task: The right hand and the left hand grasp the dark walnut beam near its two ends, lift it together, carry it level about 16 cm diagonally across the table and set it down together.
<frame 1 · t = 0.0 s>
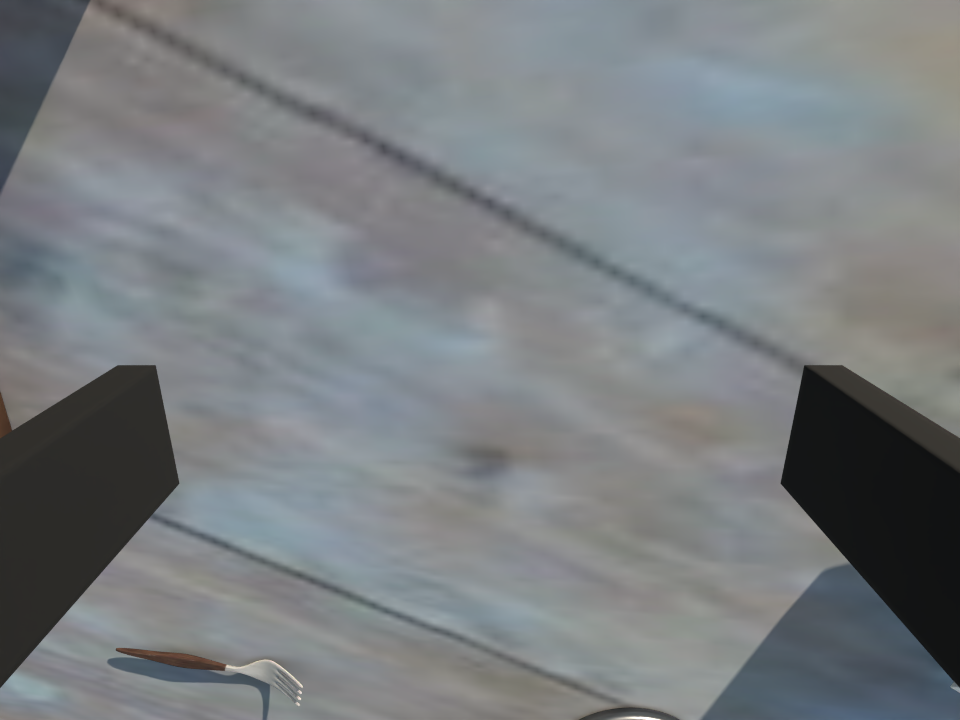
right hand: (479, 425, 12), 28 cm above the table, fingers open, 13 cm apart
fork: (215, 658, 51), on the table
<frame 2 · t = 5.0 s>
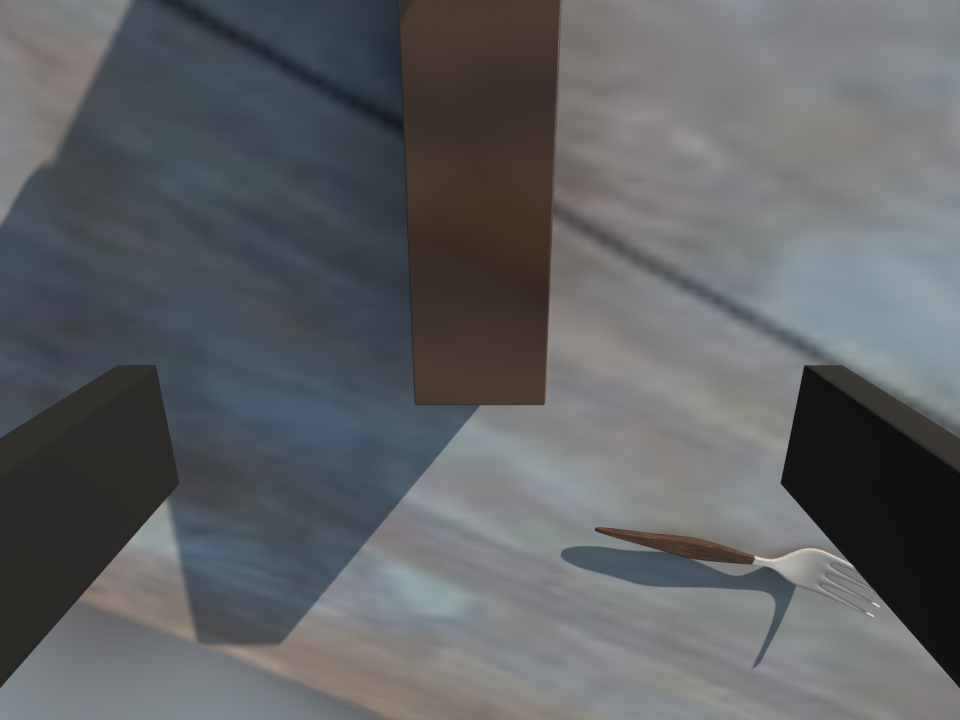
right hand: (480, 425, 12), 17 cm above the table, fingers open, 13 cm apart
fork: (728, 548, 34), on the table
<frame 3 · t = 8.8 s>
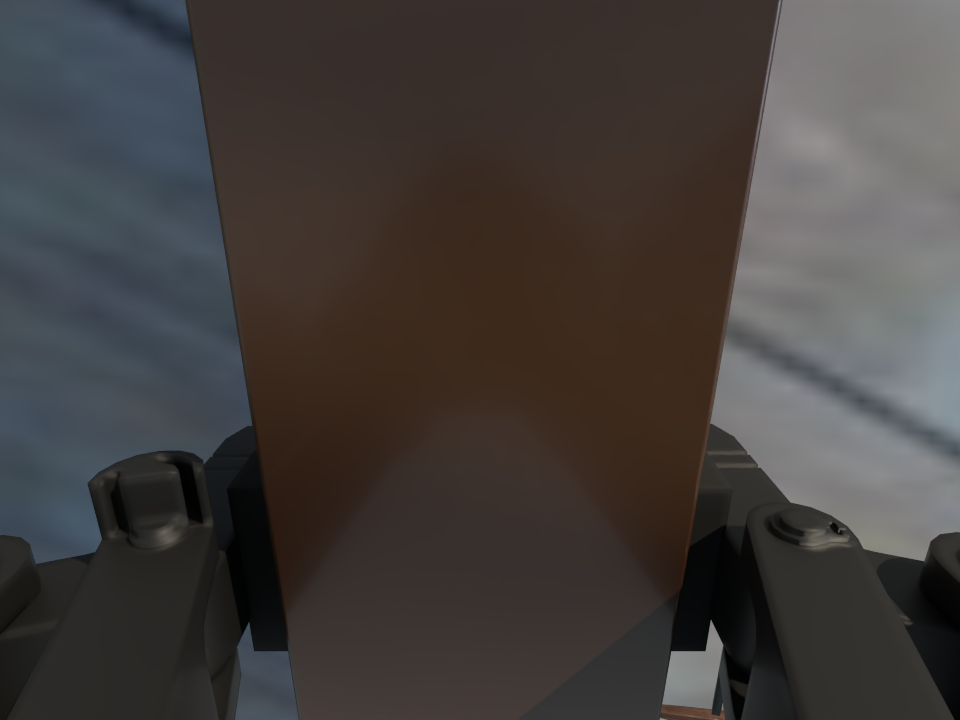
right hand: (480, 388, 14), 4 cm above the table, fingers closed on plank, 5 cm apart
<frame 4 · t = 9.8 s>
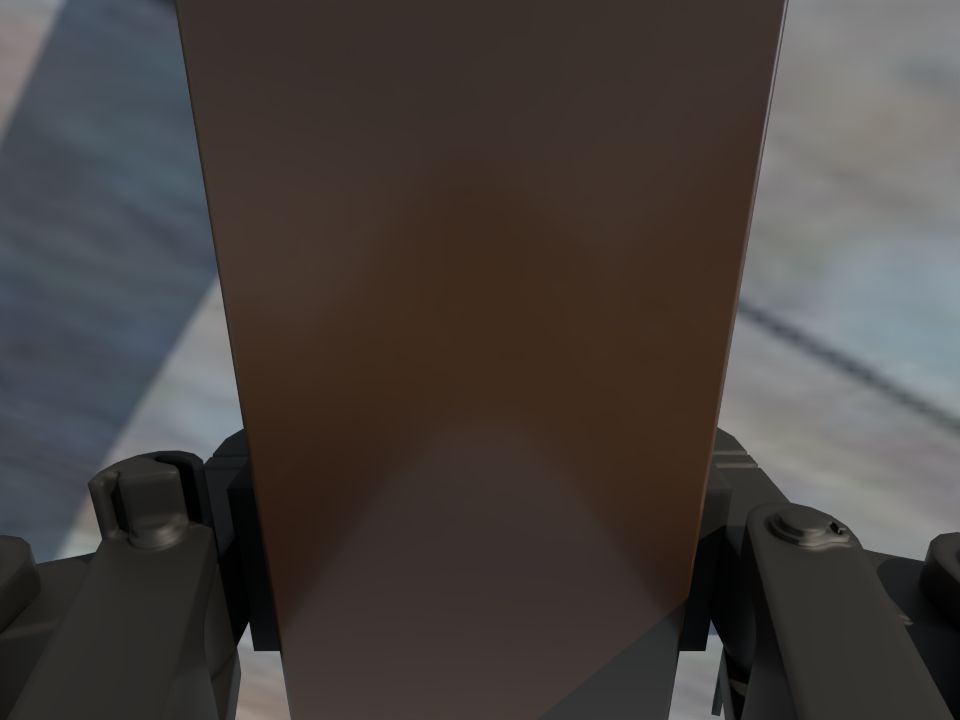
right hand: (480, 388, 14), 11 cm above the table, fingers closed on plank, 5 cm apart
when the right hand's fingers open (0 cm above the table, at t = 14.7 s): plank stays where it is, on the table.
when the left hand's fingers open (3 cm above the table, at t = 14.8 s): plank stays where it is, on the table.
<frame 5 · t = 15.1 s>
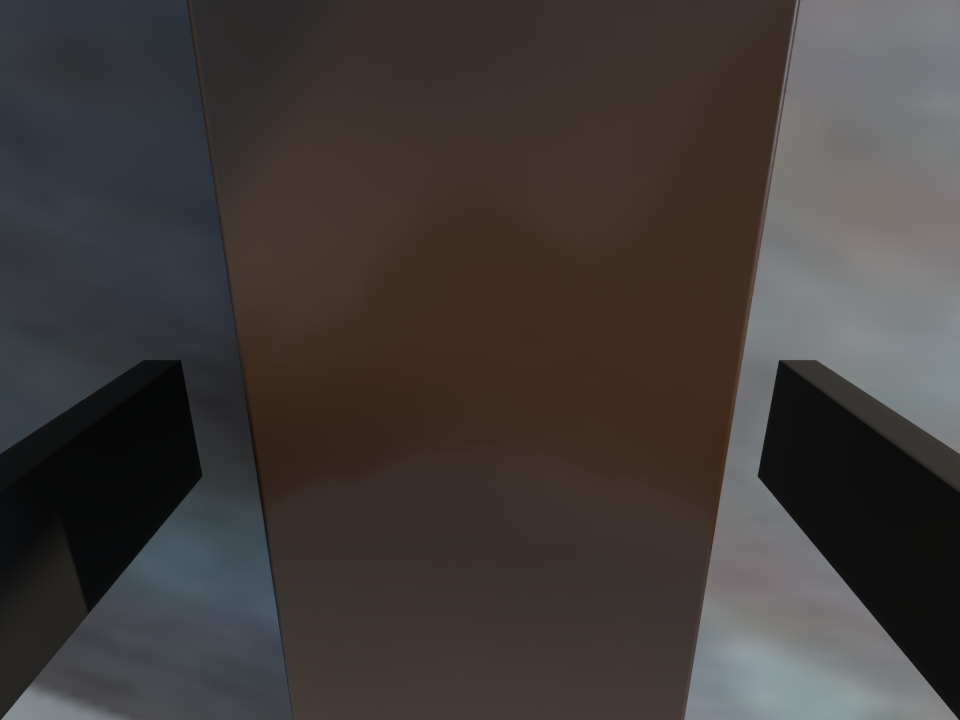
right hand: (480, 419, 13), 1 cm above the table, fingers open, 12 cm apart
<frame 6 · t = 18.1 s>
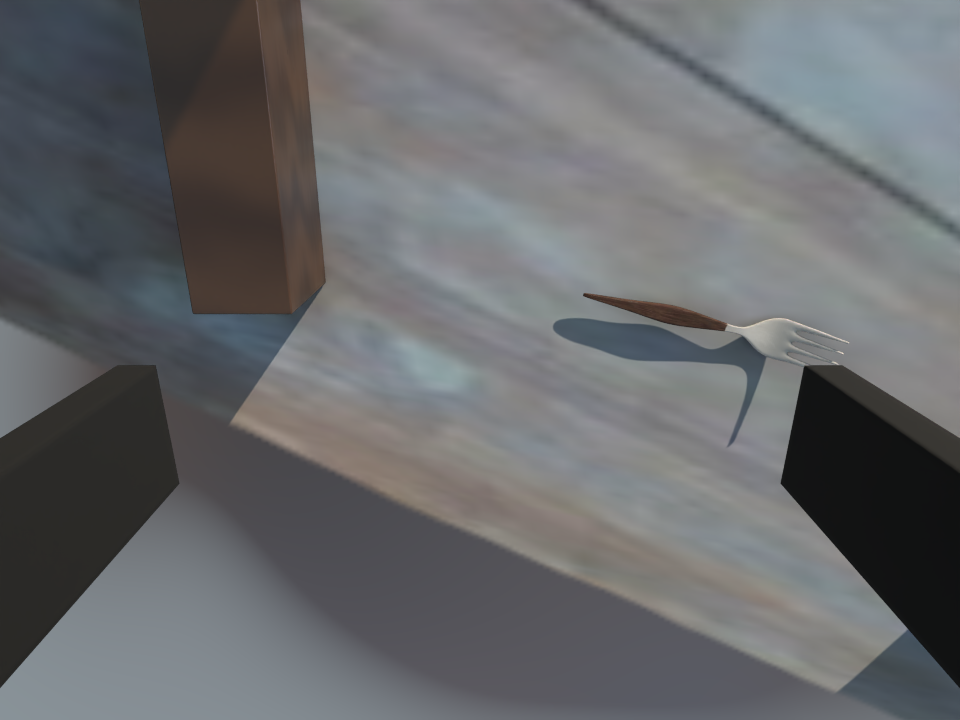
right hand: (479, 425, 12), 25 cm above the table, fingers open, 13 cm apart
plank: (253, 1, 31), on the table
fork: (704, 320, 37), on the table
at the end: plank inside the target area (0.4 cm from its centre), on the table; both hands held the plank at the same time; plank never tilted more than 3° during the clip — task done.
